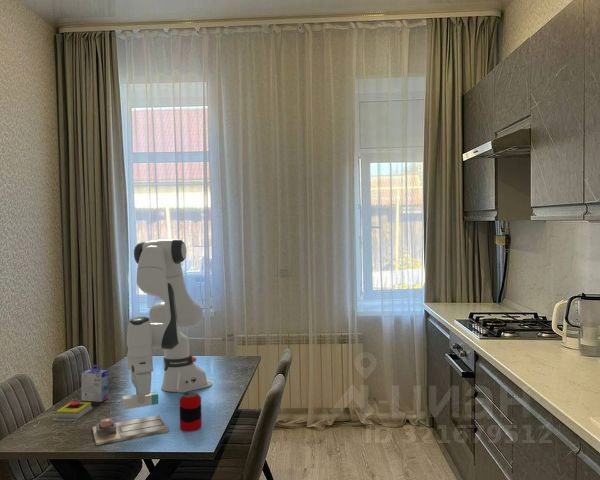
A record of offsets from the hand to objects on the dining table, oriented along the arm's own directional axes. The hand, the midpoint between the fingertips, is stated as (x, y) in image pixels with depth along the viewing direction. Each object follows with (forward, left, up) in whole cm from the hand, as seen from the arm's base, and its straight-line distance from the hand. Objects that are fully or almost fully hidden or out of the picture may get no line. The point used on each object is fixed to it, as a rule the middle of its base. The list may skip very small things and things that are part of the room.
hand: (140, 400), depth 185 cm
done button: (+12, 0, -8) cm, 14 cm away
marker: (0, 0, -2) cm, 2 cm away
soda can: (-16, +8, -10) cm, 21 cm away
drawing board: (+4, 0, -10) cm, 11 cm away
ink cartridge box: (+12, -43, -10) cm, 46 cm away
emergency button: (+21, -29, -11) cm, 37 cm away
